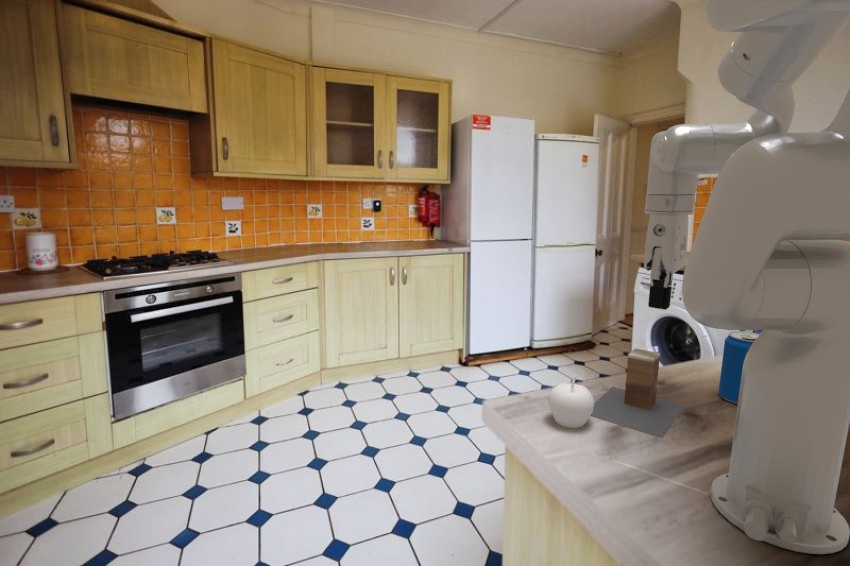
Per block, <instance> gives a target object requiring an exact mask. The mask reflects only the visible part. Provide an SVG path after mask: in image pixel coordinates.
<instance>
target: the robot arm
mask: <svg viewBox="0 0 850 566" xmlns="http://www.w3.org/2000/svg"><path fill="white" fill-rule="evenodd" d="M705 17H706V20H707V23H708V24H709V25H710V27H711V28H712V29H714V30H715V31H716V32H721V33H738V34H737V35H736V37H735V39H734V40H733V42H732V43H731V45H730V46H729V48H728V49H727V51H726V52H725V54H724V55H723V57H722V58H721V60H720V62H719V64H718V68H717V77H718V80H719V81H718V82H719V83H720V85H721V87H722V88H723V89H724V91H725V92H727V93H728V94H729V96H731V97H733V98H734V99H736V100H738V101H739V102H741V103H743V104H746V105H748V106H750V107H752V108H753V109H755V111H754V112H752V114H751V115H750V116H749V118H747V119H746V120H745V121H743V122H706V123H682V124H680V123H679V124H676V125H673V126H671V127H669V128H668V129H666V130H664V131H659V132H657V133H656V134H654V136H653V137H652V139H651V142H650V151H649V163H648V173H647V174H648V176H647V186H646V194H645V195H646V196H645V205H644V214H647V215H649V218H648V219H649V220H648V224H647V232H646V237H645V247H644V255H643V256H644V257H643V267H644V270H646V271H648V272H649V271H650V275H649V276H650V282H649V294H648V303H647V306H648V308H653V309H658V310H659V309H660V310H665V311H666V310H668V309H669V308H670V307H671V297H672V288H673V286H672V284H673V279H674V274H675V273H676V272H678V271H680V270H681V269H683V268H685V269H684V272H683V277H682V283H681V295H682V302H683V305H684V307H685V310H686V312H687V314H688V315H689V316H690V317H691V318H692V320H694V321H696V322H697V323H698V324H700V325H702V326H705V327H708V328H711V329H717V330H726V331H727V330H728V331H760V333H759V334H760V335H759V336H758V337H757V338H756V340H755V341H754V342H753V344H752V345H751V347H750V349H749V351H748V353H747V355H746V357H745V360H744V364H743V370H742V376H741V384H740V391H739V399H738V404H737V408H736V414H735V416H736V417H735V423H734V430H733V437H732V446H731V452H730V460H729V468H728V473H724V474H720V475H719V476H717V477H715V478H714V479H713V481H712V483H711V486H710V493H709V495H710V498H711V499H710V500H711V501H712V503H713V505H714V507H715V508H716V509H717V510H718V512H720V514H721V515H722V516H723V517H724V518H726V519H727V520H728V521H729V522H730V523H731V524H733V525H734V526H736V527H737V528H739V529H740V530H741V531H743V532H744V533H745V535H746V536H748V537H749V538H751V539H752V540H755V541H760V542H761V541H763V542H766V543H768V544H771V545H773V546H776V547H779V548H780V549H781V548H783V549H785V550H788V551H793V552H798V553H803V554H814V555H825V554H834V553H836V552H840V551H842V550H843V549H844V548H846V547H847V545H848V543H849V541H850V526H849V523H848V522H847V521H846V518H845V517H844V516H843V515H842V514H841V513H840V511H838V510H837V508H836V507H835V502H836V498H837V497H836V496H837V491H838V485H839V480H840V477H841V476H840V475H841V471H842V464H843V459H844V454H845V448H846V443H847V437H848V433H849V427H850V241H848V240H850V87H849V88H848V90H847V93H846V95H845V97H844V99H843V102H842V103H841V105H840V107H839V109H838V111H837V113H836V115H835V116H834V118H833V120H832V121H831V123H830V124H829V125H828V126H827V127H826V128H824V129H823V130H821V131H816V132H815V131H814V132H813V131H812V132H806V131H805V132H789V129H790V126H791V124H792V121H793V118H794V114H795V107H796V106H795V105H796V101H795V93H794V90H793V85H794V84H795V83H796V82H797V81H798V79H800V77H802V75H803V74H804V73H805V72H806V71H807V69H808V68H809V67H810V66H812V64H813V63H814V61H815V60H816V59H817V58H818V57H819V56H820V54H821V53H822V52H823V51H825V49H826V48H827V46H828V45H830V43H831V42H832V41H834V39H835V38H836V37H837V35H838V34H840V32H841V31H842V30H843V28H844V27H845V26H846V25H848V23H849V22H850V0H705ZM699 175H717V177H716V179H715V182H714V185H713V186H712V189H711V192H710V195H709V197H708V200H707V203H706V207H705V210H704V212H703V215H702V217H701V220H700V223H699V226H698V229H697V232H696V235H695V238H694V240H693V243H692V246H691V249H690V252H689V255H688V254H687V253H688V241H689V240H688V239H689V237H688V236H689V216H691V215H694V214H695V202H696V194H697V186H698V185H697V184H698V176H699ZM687 255H688V258H687Z"/></svg>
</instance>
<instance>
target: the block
mask: <svg viewBox="0 0 850 566" xmlns="http://www.w3.org/2000/svg"><path fill="white" fill-rule="evenodd" d="M660 359H661V353H660V352H656V351H650V350H646V349H645V350H644V349H641V348H634V349H633V350H632V351H631V352H629V353H628V354H627V365H626V379H625V388H624V390H625V400H624V404H627V405H630V406H634V407H638V408H641V409H645V410H648V411H649V410H650V409H651V407H652V406H653V405H654V404H655V402H656V398H657V389H658V379H659V378H658V377H659V369H660Z"/></svg>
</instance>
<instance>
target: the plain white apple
mask: <svg viewBox="0 0 850 566" xmlns="http://www.w3.org/2000/svg"><path fill="white" fill-rule="evenodd" d="M577 378H578V376H577V375H573V376H572V380H571V382H570V383H567V382H566V383H565V382H561V383H559V384H557V385H556V386H554V387H553V388H551V390H550V392H549V394H548V396H547V403H548V407H549V410H550V411H551V414H552V416H553V419H554V420H555V423H557V424H558V425H560V426H562V427H564V428H569V429H579V428H582V427H584V426H585V424H586V423H587V422H588V420H589V419H590V417H592V416H591V414H592V412H593V410H594V403H595V399H594V396H593V394H592V392H590V390H589V389H588V388H587V387H585V386H584V385H581V384H577V383H576V379H577Z"/></svg>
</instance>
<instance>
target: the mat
mask: <svg viewBox="0 0 850 566" xmlns="http://www.w3.org/2000/svg"><path fill="white" fill-rule="evenodd" d="M624 400H625V388H619V387H615V386H611V387H610V389H608V390H607V391H606V392H605V393H604V394H603V395H601V397H600V398H599V399H597V401H595V402H594V410H593V412H592V414H591V416H590V417H592V418H596V419H598V420H601V421H605V422H607V423H611V424H615V425H618V426H621V427H623V428H624V427H625V428H627V429H631V430H634V431H638V432H639V433H644V434H647V435H649V436H653V437H657V438H660V439H663V438H664V436H665V435H666V433H667V432H668V430H669V429H670V428H671V425H672V424H673V422H674V421H675V420H676V418H677V417H678V415H679V413H680V412H681V411H682V409H683V407H684V405H685V404H682V403H677V402H674V401H670V400H666V399H662V398H658V397H656V402H655V404H654V405H653V406H652V407H651V409H650V410H649V411H648V410H645V409H641V408H638V407H634V406H630V405H627V404H624Z"/></svg>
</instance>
